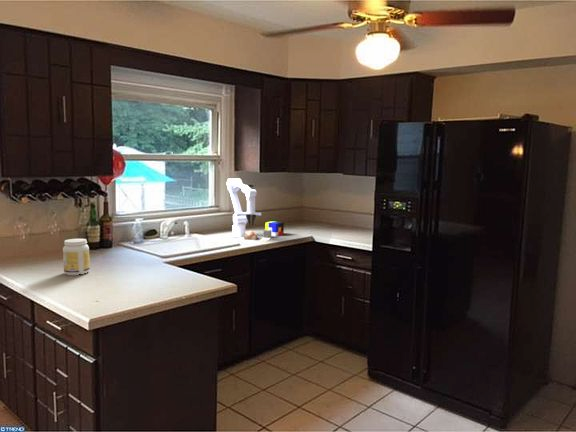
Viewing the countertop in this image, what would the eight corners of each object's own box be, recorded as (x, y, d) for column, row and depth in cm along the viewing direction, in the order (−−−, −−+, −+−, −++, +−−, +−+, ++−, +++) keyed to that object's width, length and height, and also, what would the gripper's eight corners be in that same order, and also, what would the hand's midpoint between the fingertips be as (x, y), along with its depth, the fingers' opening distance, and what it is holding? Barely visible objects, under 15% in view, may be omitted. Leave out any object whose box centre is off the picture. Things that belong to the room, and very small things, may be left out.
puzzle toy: (275, 237, 350) (275, 223, 349) (265, 235, 356) (265, 222, 355) (283, 235, 358) (283, 222, 357) (273, 233, 364) (273, 221, 363)
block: (263, 237, 343) (263, 230, 342) (264, 236, 348) (264, 229, 347) (270, 237, 342) (270, 231, 341) (271, 236, 347) (271, 229, 346)
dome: (246, 237, 336) (246, 231, 336) (248, 236, 341) (248, 230, 341) (253, 237, 336) (253, 231, 335) (255, 236, 340) (255, 230, 340)
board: (257, 241, 329) (257, 240, 329) (263, 237, 349) (263, 236, 349) (268, 242, 328) (268, 241, 328) (273, 237, 348) (273, 236, 348)
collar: (244, 240, 335) (244, 235, 335) (246, 238, 343) (246, 234, 343) (255, 240, 334) (255, 236, 334) (257, 238, 342) (257, 234, 341)
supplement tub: (83, 268, 247) (81, 237, 245) (94, 272, 239) (93, 240, 237) (59, 273, 238) (57, 240, 236) (70, 277, 230) (68, 243, 228)
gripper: (239, 206, 333) (239, 225, 334) (259, 207, 330) (259, 226, 332) (242, 205, 339) (242, 224, 341) (261, 206, 337) (261, 224, 339)
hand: (251, 225), depth 337 cm, fingers closed
